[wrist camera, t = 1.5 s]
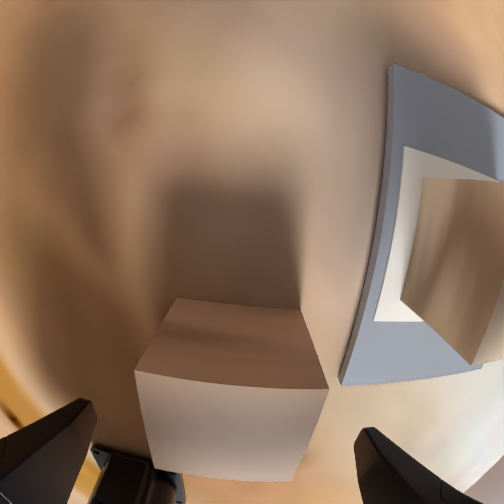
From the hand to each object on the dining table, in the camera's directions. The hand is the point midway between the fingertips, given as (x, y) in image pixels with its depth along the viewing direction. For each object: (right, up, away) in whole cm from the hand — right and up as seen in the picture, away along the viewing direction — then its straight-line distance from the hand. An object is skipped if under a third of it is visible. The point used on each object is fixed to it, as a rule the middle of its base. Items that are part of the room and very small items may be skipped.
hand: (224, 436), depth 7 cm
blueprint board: (+11, +6, +3) cm, 13 cm away
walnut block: (0, +1, +4) cm, 5 cm away
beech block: (+10, +6, +2) cm, 12 cm away
